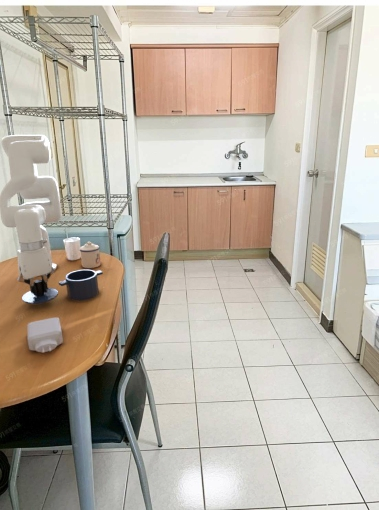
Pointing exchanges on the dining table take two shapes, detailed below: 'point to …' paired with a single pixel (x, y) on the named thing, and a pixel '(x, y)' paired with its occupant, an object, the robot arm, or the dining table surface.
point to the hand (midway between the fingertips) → (39, 292)
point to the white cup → (72, 248)
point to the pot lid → (39, 294)
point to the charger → (44, 334)
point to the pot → (81, 284)
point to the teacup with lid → (90, 255)
